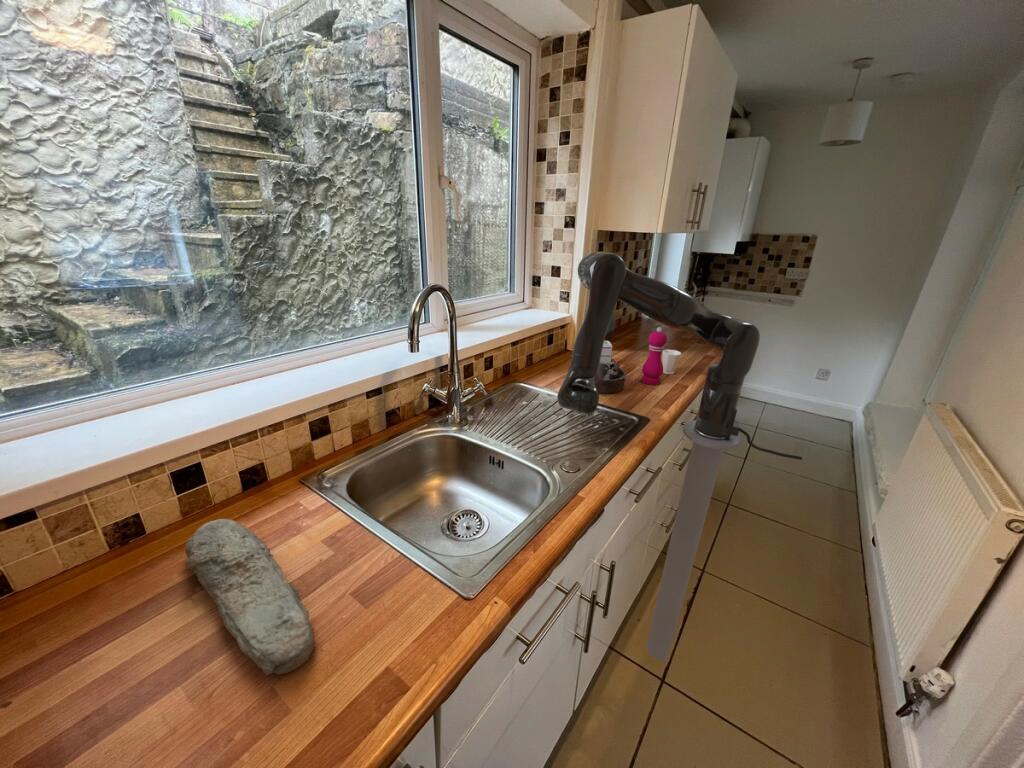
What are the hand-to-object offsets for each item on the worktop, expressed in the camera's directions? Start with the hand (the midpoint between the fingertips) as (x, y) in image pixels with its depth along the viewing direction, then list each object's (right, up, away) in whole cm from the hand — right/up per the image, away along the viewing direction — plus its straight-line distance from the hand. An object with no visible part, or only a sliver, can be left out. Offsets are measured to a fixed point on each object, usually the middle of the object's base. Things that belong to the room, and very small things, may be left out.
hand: (599, 360), depth 133 cm
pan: (+2, -8, +9) cm, 12 cm away
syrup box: (+2, -7, +9) cm, 12 cm away
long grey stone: (-69, -40, -72) cm, 107 cm away
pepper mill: (+21, -7, +13) cm, 26 cm away
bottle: (+7, +1, +31) cm, 32 cm away
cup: (+32, -3, +24) cm, 40 cm away
